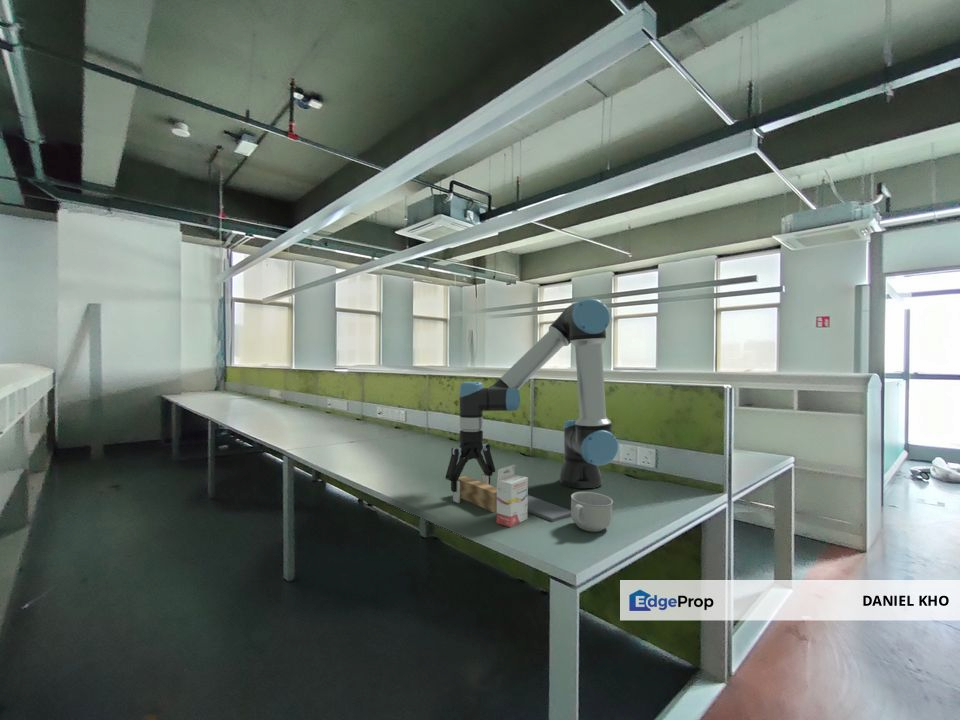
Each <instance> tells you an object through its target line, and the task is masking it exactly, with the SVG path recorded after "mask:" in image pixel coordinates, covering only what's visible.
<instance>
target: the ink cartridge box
mask: <svg viewBox="0 0 960 720" xmlns="http://www.w3.org/2000/svg"><path fill="white" fill-rule="evenodd" d="M515 470H516V465H515V464H511V465H508V466H505V467H501V468H498V470H497V478H496V479H497V480H496V487H497V512H496V524H499V525H501V526H502V525H503V526H505V527H509V528H512V527H514V526H517V524H520V523H522V522H524V521H526V520H528V511H527V507H528V495H529V494H528V491H529V490H528V488H529V487H528V486H529V477H527V476H523V475H517V474H515ZM507 471H508V472H507Z"/></svg>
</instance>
